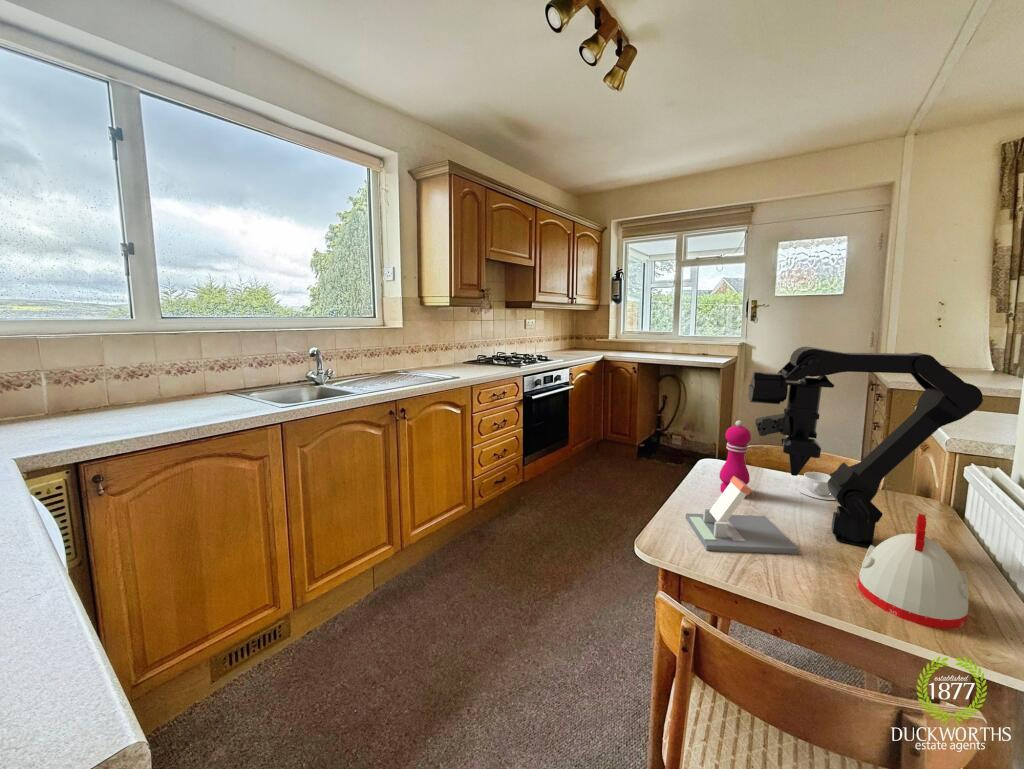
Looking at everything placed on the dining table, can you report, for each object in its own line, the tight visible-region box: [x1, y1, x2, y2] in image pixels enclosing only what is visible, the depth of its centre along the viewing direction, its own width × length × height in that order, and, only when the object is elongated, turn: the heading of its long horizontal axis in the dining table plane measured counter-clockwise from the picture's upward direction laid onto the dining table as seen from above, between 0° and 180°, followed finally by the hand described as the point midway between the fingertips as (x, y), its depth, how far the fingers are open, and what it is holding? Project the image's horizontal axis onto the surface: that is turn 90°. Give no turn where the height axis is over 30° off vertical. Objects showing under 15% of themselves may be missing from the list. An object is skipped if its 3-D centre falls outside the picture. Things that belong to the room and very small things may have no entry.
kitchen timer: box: [857, 513, 970, 630], centre depth 74 cm, size 14×14×15 cm
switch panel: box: [685, 507, 799, 555], centre depth 96 cm, size 18×14×4 cm
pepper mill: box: [718, 420, 752, 494], centre depth 117 cm, size 7×7×20 cm
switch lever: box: [709, 476, 753, 522], centre depth 96 cm, size 2×5×10 cm, turn 178°
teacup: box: [796, 471, 837, 501], centre depth 118 cm, size 10×10×5 cm
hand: (793, 475), depth 97 cm, fingers closed
